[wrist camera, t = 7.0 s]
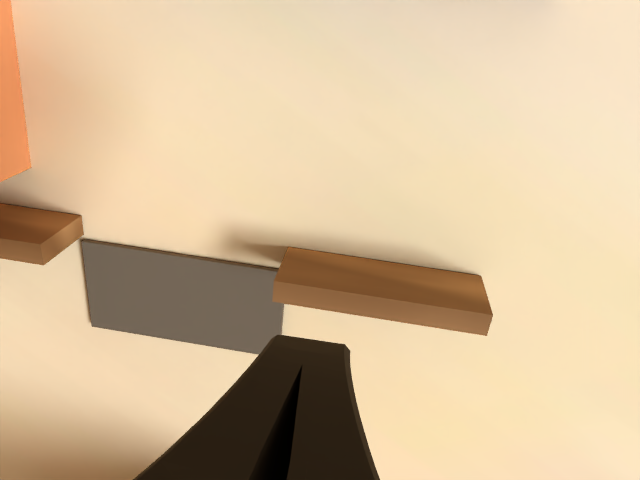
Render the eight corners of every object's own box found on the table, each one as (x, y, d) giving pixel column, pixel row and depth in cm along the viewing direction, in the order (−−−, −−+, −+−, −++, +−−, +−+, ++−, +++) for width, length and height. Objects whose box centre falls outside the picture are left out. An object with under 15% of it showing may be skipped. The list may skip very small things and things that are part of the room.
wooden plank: (475, 294, 19) (486, 335, 16) (-149, 198, 20) (-216, 224, 18) (566, -35, 14) (599, -41, 12) (-254, -119, 16) (-362, -138, 14)
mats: (279, 354, 21) (278, 357, 21) (-39, 301, 22) (-42, 303, 22) (328, -258, 13) (327, -261, 12) (-190, -296, 14) (-198, -299, 13)
